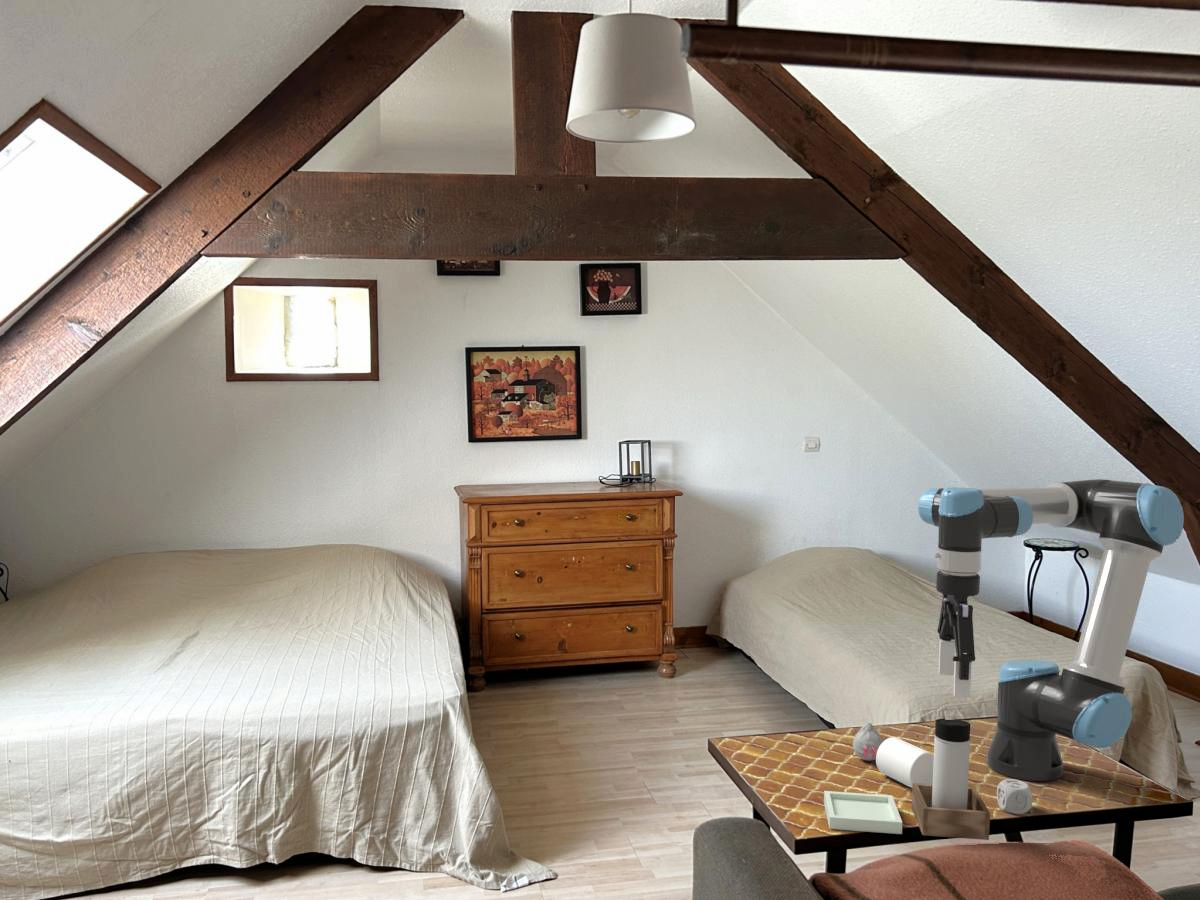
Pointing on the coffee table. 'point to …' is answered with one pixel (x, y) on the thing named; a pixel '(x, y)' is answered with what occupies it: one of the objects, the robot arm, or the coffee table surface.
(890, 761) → the mug
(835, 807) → the tray
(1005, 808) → the die
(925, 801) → the holder
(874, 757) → the figurine
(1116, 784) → the coffee table surface
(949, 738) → the travel mug
